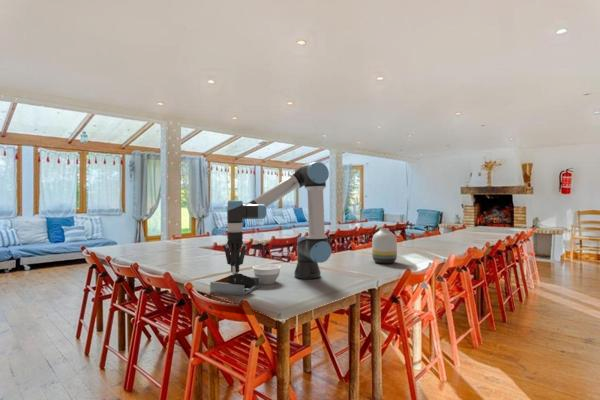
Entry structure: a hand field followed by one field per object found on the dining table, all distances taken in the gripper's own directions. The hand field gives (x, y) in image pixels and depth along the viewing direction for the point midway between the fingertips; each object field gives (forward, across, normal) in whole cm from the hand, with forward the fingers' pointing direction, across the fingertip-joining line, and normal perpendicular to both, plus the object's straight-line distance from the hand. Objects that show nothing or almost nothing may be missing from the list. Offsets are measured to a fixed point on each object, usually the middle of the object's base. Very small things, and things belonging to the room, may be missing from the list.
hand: (235, 278), depth 172 cm
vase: (+6, -62, -100) cm, 117 cm away
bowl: (+6, -8, -19) cm, 22 cm away
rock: (+3, -2, +6) cm, 7 cm away
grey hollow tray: (+6, 0, 0) cm, 6 cm away
